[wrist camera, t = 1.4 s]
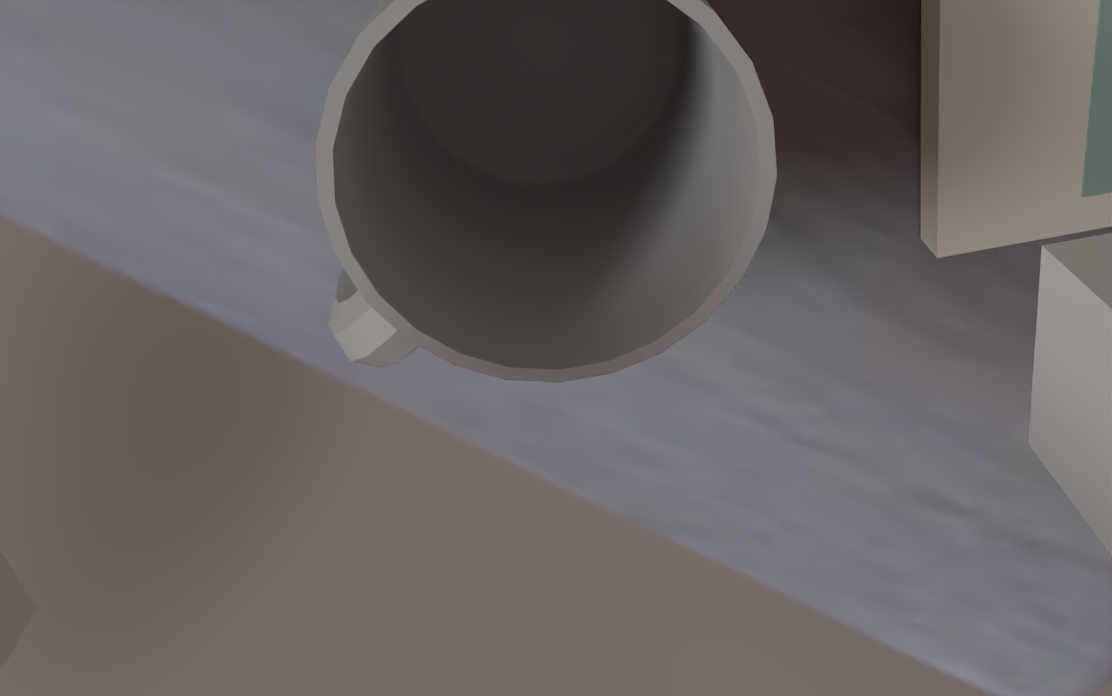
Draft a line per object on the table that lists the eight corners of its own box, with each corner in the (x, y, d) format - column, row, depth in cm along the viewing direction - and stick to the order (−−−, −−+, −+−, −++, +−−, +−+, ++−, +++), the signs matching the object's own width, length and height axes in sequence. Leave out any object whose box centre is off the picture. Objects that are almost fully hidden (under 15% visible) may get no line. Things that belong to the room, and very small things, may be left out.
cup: (756, 34, 23) (872, 170, 15) (484, 314, 27) (468, 537, 19) (524, -201, 20) (524, -181, 13) (258, 146, 24) (134, 325, 16)
